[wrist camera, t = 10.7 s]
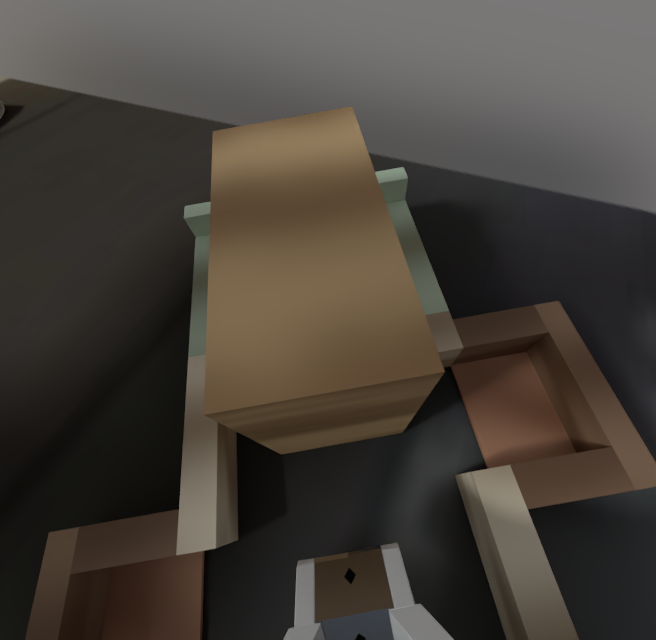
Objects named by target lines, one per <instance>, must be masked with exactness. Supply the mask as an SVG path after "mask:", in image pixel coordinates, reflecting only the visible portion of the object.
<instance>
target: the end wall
mask: <svg viewBox="0 0 656 640" xmlns="http://www.w3.org/2000/svg"><path fill="white" fill-rule="evenodd" d="M375 174H376V177H377V179H378V182H379V185H380V188H381V191H382V194H383V196H384V199H385V202H386V203H389V202H395V201H400V200H405V195H406V188H407V182H408V177H407V174H406V172H405V170H404V167H401V168H395V169H390V170H384V171H379V172H375ZM210 206H211V202H206V203H200V204H195V205H189V206H185V210H184V219H185V221H186V223H187V224H188V226H189V227H190V229H191V230H192V232H193V234H194V235H195V237H200V236H205V235H210Z"/></svg>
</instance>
